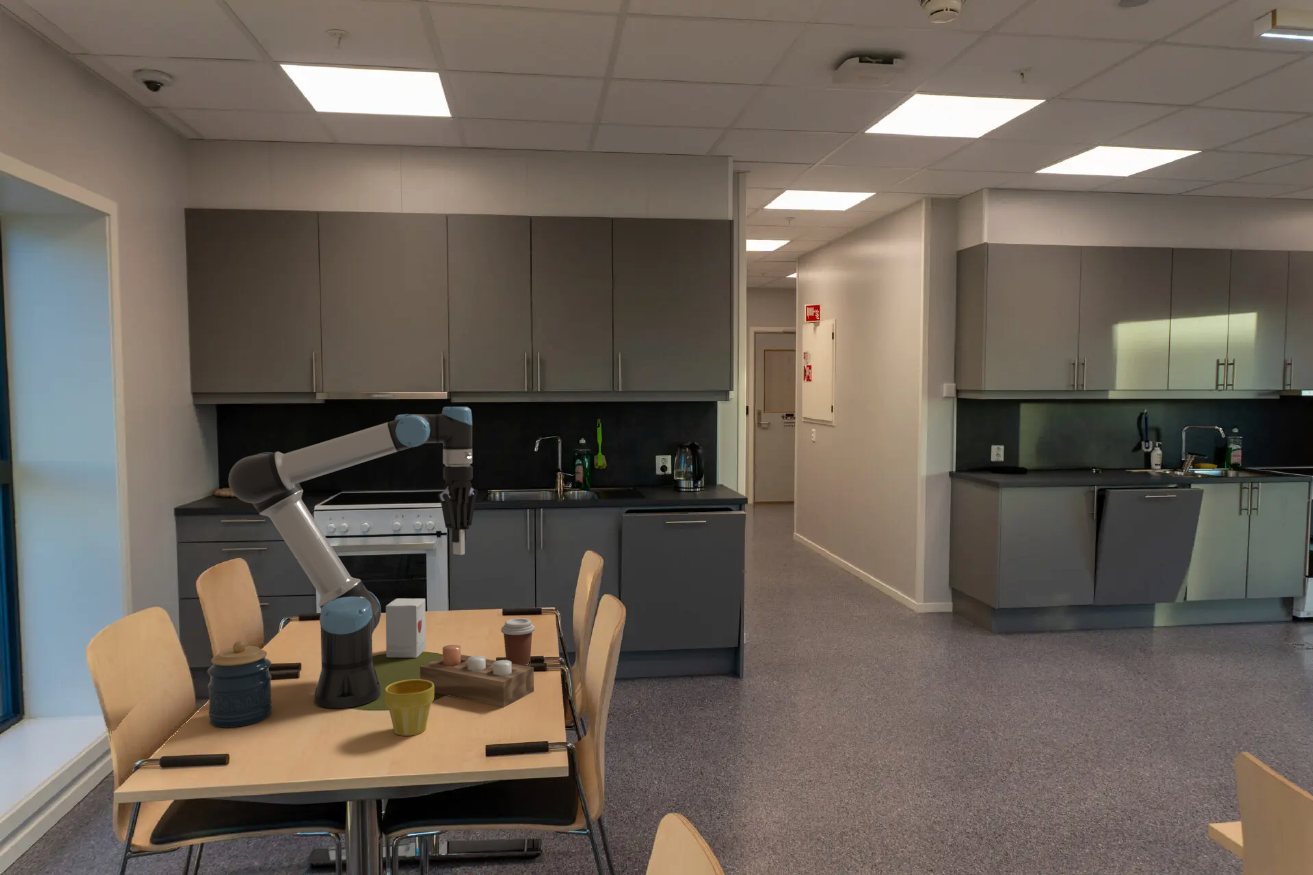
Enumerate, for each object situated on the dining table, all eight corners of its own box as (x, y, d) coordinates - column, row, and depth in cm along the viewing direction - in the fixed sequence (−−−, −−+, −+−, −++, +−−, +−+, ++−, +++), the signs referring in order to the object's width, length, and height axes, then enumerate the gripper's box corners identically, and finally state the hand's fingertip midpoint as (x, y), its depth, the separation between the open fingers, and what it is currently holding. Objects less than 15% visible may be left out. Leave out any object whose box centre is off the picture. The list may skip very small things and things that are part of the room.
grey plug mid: (478, 690, 201) (477, 662, 200) (464, 687, 203) (463, 659, 202) (489, 684, 205) (489, 657, 204) (475, 681, 207) (475, 654, 206)
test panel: (503, 707, 192) (503, 681, 192) (420, 689, 204) (419, 666, 204) (533, 691, 203) (533, 667, 203) (452, 675, 215) (452, 652, 215)
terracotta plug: (452, 678, 204) (452, 650, 204) (439, 675, 206) (438, 648, 206) (464, 673, 208) (464, 646, 208) (451, 670, 210) (450, 643, 210)
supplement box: (417, 658, 230) (416, 605, 229) (385, 658, 230) (384, 605, 229) (427, 648, 239) (426, 597, 238) (396, 648, 239) (395, 597, 238)
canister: (274, 703, 195) (272, 630, 194) (270, 723, 183) (268, 645, 182) (213, 711, 190) (211, 636, 190) (204, 732, 178) (202, 652, 178)
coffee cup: (538, 659, 228) (538, 617, 227) (530, 670, 219) (530, 626, 218) (506, 658, 229) (506, 616, 228) (497, 669, 220) (496, 625, 219)
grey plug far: (504, 695, 197) (503, 666, 197) (489, 692, 199) (489, 664, 199) (515, 689, 201) (515, 661, 201) (501, 686, 203) (500, 659, 203)
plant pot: (417, 717, 186) (416, 674, 186) (444, 728, 180) (443, 684, 179) (376, 731, 178) (375, 687, 178) (403, 743, 172) (402, 698, 171)
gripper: (451, 467, 208) (452, 559, 209) (485, 464, 219) (486, 551, 220) (429, 466, 211) (430, 556, 212) (464, 463, 223) (465, 548, 224)
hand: (459, 553), depth 216 cm, fingers closed
